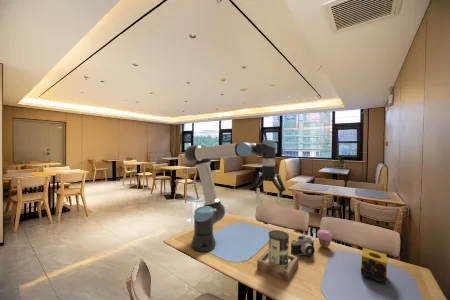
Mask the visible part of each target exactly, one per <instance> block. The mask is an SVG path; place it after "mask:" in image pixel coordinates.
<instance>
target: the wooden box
mask: <svg viewBox="0 0 450 300" xmlns="http://www.w3.org/2000/svg"><path fill="white" fill-rule="evenodd" d="M268 259H269V248H268V249H267V250H266V251H265V252H264V253H263V254H262V255H260V257H259V258H257V263H256V264H257V265H256V268H257V270H260V271H262V272H263V273H266V274H268V275H271V276H273V277H276V278H277V279H280V280H282V281H285V282H287V283H288V282H289V281H290V280H291V278H292V277H293V275H294V273H295V271H296V270H297V268H298V267H299V256H293V255H292V254H291V253H288V262H289V263H288V265H287V266H284V267H279V266H276V265H273V264H271V263H270V262H269V260H268Z"/></svg>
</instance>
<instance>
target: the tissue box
mask: <svg viewBox="0 0 450 300" xmlns="http://www.w3.org/2000/svg"><path fill="white" fill-rule="evenodd" d="M361 253H362V254H361V266H360V275H361V276H364V277H366V278H368V279H371V280H373V281H374V280H375V281H377V282H381V283H383V284H387V279H388V278H387V275H388V274H387V267H388V259H387V253H383V252H379V251H375V250H372V249H369V248H365V247H362V252H361Z"/></svg>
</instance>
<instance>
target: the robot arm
mask: <svg viewBox="0 0 450 300" xmlns="http://www.w3.org/2000/svg"><path fill="white" fill-rule="evenodd" d="M248 156H249V157H250V156H262V161H261V162H262V169H261V170H262V171H261V172H257V175H256V178H255V180H254V182H253V184H252V187H253V188H255V194H256V200H260V197H261V195H260V194H261V193H260V192H261V190H260V186H261V185H262V184H264V182H271V183H272V184H273V185H274V186H275V188H276V189H277V204H280V203H281V202H282V201H281V198H283V192H286V190H287V189H286V187H285V185H284V183H283V181H282V177H281V174H280V173H279V174H276V141H275V140H274V139H263V140H262V142H259V143H258V142H257V143H256V142H247V141H243V142H239V143H238V142H237V143H228V144H227V143H226V144H219V145H209V146H206V145H204V144H203V145H202V144H201V145H189V146H188V147H187V148H186V149H185V151H184V158H185V159H186V160H187V162H189V163H194V167H196V168H197V171H198V175H199V180H200V183H201V188H202V192H203V197H204V203H203V206H198V207H197V208H196V209H195V210H194V215H193V216H194V217H193V219H194V220H193V221H194V224H193V225H194V229H193V233H194V234H193V236H192V240H191V243H190V247H191V249H192V250H193V251H195V252H197V253H199V252H200V253H206V252H210V251H212V250H214V249H215V248H216V246H217V245H216V244H217V243H216V240H215V236H214V226H215V224H217V223H218V222H220V221H222V219H223V218H224V217H225V214H226V207H225V205H224V204H223V203H221V200H220V199H219V198H218V196H217V191H216V187H215V182H214V179H213V175H212V170H211V166H210V165H211V163H212V161H211V160H212V159H219V158H220V159H221V158H222V159H223V158H231V157H232V158H233V157H234V158H235V157H248ZM275 178H276V179H277V180H276V179H275Z"/></svg>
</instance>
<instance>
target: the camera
mask: <svg viewBox="0 0 450 300" xmlns="http://www.w3.org/2000/svg"><path fill="white" fill-rule="evenodd" d="M314 242H315V240H314V239H313V238H312V237H309V236H308V237H306V236H305V235H303V234H302V235H299V236H298V237H297V239H292V240H291V242H290V254H291V255H293V256H296V257H298V256H303V255H305V256H307V257H308V258H309V257H312V256H314V254H315V252H316V251H315V247H314V244H315V243H314Z"/></svg>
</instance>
